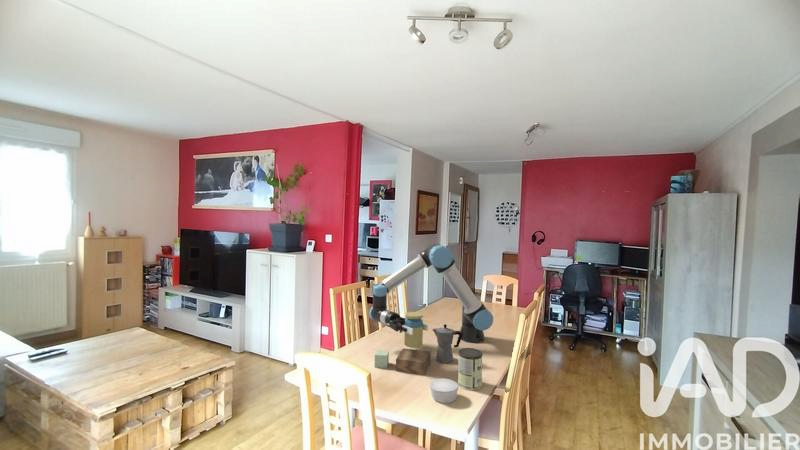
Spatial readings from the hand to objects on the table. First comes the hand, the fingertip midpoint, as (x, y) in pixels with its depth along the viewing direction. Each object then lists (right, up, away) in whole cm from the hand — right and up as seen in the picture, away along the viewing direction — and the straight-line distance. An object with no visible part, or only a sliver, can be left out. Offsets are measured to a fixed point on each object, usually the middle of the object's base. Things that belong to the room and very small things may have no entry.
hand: (419, 329), depth 163 cm
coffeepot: (+14, -19, +12) cm, 27 cm away
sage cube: (-18, -19, +5) cm, 27 cm away
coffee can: (+21, -20, -14) cm, 32 cm away
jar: (-3, -9, +4) cm, 10 cm away
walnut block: (-3, -19, +3) cm, 20 cm away
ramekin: (+8, -20, -25) cm, 33 cm away
